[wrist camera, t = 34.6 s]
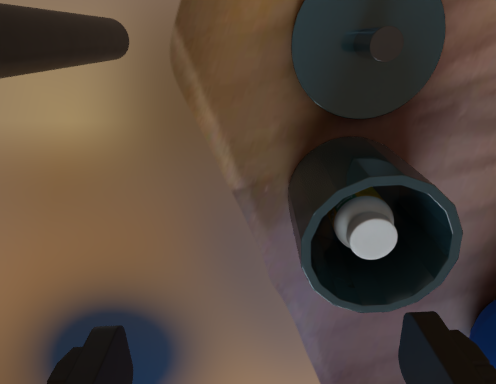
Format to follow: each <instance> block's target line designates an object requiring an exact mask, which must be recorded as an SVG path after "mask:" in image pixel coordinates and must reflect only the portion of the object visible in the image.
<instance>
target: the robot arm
mask: <svg viewBox="0 0 496 384" xmlns="http://www.w3.org/2000/svg"><path fill="white" fill-rule="evenodd" d="M398 357H399V365H400V369H401V373H402V375H403V378H404V380H405V382H406V384H496V369H495V368H494V366H493V365H491V364H490V361H489V360H488V358H487V357H486V356H485V355H484V353H483V352H482V351H481V349H480V348H479V347H478V345H477V344H476V343H474V342H473V341H472V340H470V339H469V338H468V337H466V336H465V335H464V334H463V333H461V332H460V331H459V330H449V329H448V328H447V326H446V325H445V324H444V322H443V321H442V319H441V318H440V316H439V315H438V314H437V313H436V312H433V311H430V312H409V313H406V314H405V315H404V319H403V325H402V332H401V339H400V346H399V353H398ZM132 380H133V364H132V359H131V355H130V351H129V347H128V342H127V338H126V334H125V330H124V327H123V326H100V327H94V328H93V329H92V330H91V332H90V334H89V336H88V338H87V340H86V342H85V344H84V346H83V347H73V348H72V349H71V350H70V352H68V353H67V354H66V355H65V356H64V357H63V358H62V359H61V360H60V361H59V362H58V363H57V365H56V366H55V368H54V370H53V372H52V373H51V375H50V377H49V379H48V381H47V384H132Z"/></svg>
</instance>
